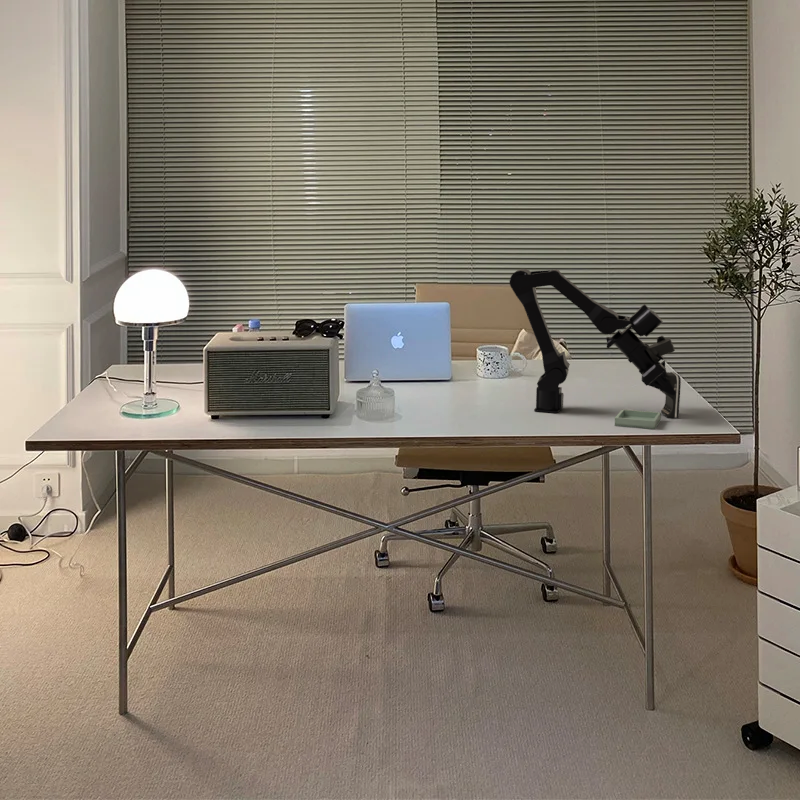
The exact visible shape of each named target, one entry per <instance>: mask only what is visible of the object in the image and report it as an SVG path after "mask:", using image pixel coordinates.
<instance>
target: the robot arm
mask: <svg viewBox="0 0 800 800" xmlns="http://www.w3.org/2000/svg"><path fill="white" fill-rule="evenodd" d="M545 286H546V287H547V286H551V287H553V288H554V289H555V290H557V292H559V293H560V294H561V295H563V296H564V297H565V298H566V299H567V300H569V301H570V302H571V303H573V304H574V305H575V306H576V307H577V308H579V309H580V310H581V311H582V312H584V314H585V315H586V316H587V318H588V319H589V320H590V321H591V323H592V324H593V325H594V327H596V330H598V331H599V332H600V333H602V334H603V335H612V334H613V335H612V336H606V338H605V340H606V348H607V349H610V348H611V347H612V346H613V345H614V346H615V347H616V348H617V349H618V350H619V351H620V352H621V353H622V354H623V355H624V356H625V358H627V361H628V362H629V363H630V364H632V365H634V367H636V369H637V370H638V372H639V374H640V375H641V382H642V383H643V384H644V385H645V386H649V387H652V388H655V389H657V390H659V391H660V390H662V391H664V392H666V393H668V394H671V395H673V396H674V395H675V394H676V391H675V390H674V388H673V386H672V385H671V384H670V382H669V381H668V379H667V378H666V372H667V368H666V360H664V359H665V357H664V356H665V355H667V354H671V353H673V352H675V346H674V343H673V341H672V339H671V337H665V336H664V335H660V336H657V337H656V342H654V343H653V344H650V345H649V344H648V343H647V342H643V341H642V340H641V339H640V338H639V337H644V336H645V337H646V338H647V337H648V336H649V335H650V334H651V333H653V332H654V331H655V330H656V329H657V328H658V327H660V325H662V324H663V323H664V322H663V320H662V319H661V317H660V316H659V315H658V313H656V312H655V310H652V309H651V308H650V307H648V306H647V304H645V303H643V304H642V305H641V306H640V307H639V308H638V309H637V311H636V312H635V313H633V314H632V315H631V316H627V315H619V314H618V313H617V312H616V311H614V310H613V309H611V308H610V307H608V306H606V305H603V304H602V303H599V302H598V301H595V300H594V299H592V298H591V297H590V296H589V295H588V294H586V292H585V291H583V290H582V289H580V288H579V287H578V286H577V285H576V284H575V283H573V282H572V281H571V280H570V279H568V278H567V277H566V276H564V274H562V272H561V271H560V270H558V269H557V268H556V269H554V268H553V269H550V270H548V269H547V270H534V271H533V270H532V271H530V270H529V269H527V268H519V269H517V270H515V272H513V273H512V274H511V275H510V278H509V287H510V288H511V289H512V291H513V293H514V294H515V297H517V299H518V301H519V302H520V303H521V304H522V306H523V308H524V311H525V313H526V317H527V319H528V321H529V323H530V327H531V330H532V331H533V334H534V338H535V340H536V342H537V345H538V347H539V350H540V353H541V359H542V365H543V370H544V373H542V375H540V377H539V379H538V381H537V384H536V385H537V387H536V393H535V394H536V395H535V396H536V399H535V408H534V409H533V411H534V412H542V413H553V414H554V413H555V414H558V413H559V412H560V411H561V410H563V408H564V393H563V391H562V389H563V387H562V386H560V385H561V384H563V383H564V382H565V381H566V380H567V377H568V375H569V368H570V365H571V363H569V361H568V359H567V356H566V351H565V350H564V351H562V352H559V350H558V349H557V348H556V345H555V342H554V340H553V338H552V335H551V332H550V329H549V327H548V324H547V322H546V319H545V317H544V314H543V311H542V309H541V306H540V304H539V301H538V296H537V288H540V287H545ZM623 329H624V330H623ZM621 330H622V331H621ZM635 333H636V334H637V335H636V334H635ZM660 361H661V362H660Z"/></svg>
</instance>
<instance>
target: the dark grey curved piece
mask: <svg viewBox="0 0 800 800" xmlns="http://www.w3.org/2000/svg"><path fill="white" fill-rule="evenodd" d="M666 378H667V379H668V381H669V382H670V384H671V385H672V386H673V388H674V390H675V391H676V394H675V395H674V396H673V395H671V394H668V393H666V392H664V391H662V390H659V392H661V393H662V394H664V395H665V402H664V405H663V407H662V409H661V410H660V413H661V415H663V416H664V417H666V418H670V419H671V418H673V419H676V418H677V419H678V418H679V415H680V414H679V412H680V402H681V387H682V386H681V384H682V380H681V376H680V375H679V374H678V373H677V372H674V371H669V372H668V371H666Z"/></svg>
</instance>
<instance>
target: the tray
mask: <svg viewBox="0 0 800 800" xmlns="http://www.w3.org/2000/svg"><path fill="white" fill-rule="evenodd" d="M661 419H662V413H661V411H660V412H659V411H657V412H656V411H647V410H646V411H645V410H635V409H633V410H632V409H621V410H620V411H619V412H618V414H617V415H616V416H615V417H614V426H615V427H623V428H636V429H648V430H656V428H657V426H658V425H659V424H660V422H661V421H660V420H661Z"/></svg>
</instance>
